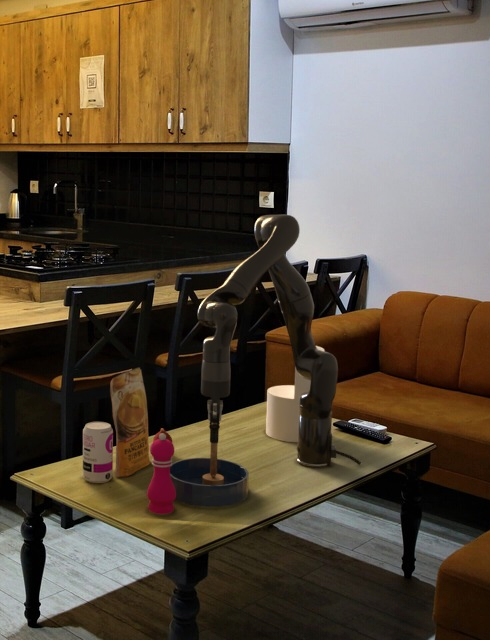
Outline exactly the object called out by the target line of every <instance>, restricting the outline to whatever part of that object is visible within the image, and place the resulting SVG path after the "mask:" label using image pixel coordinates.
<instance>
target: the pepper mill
mask: <svg viewBox="0 0 490 640" xmlns="http://www.w3.org/2000/svg"><path fill="white" fill-rule="evenodd" d="M172 442H173V441H172ZM172 442H171V441H169V440H167V439H166V435H165V434H164V433H161V434H160V435H159V439H157V440H155V441H154V442H153V441H152V443H151V445H150V446H149V453H150V455H151V456H152V458H151V465H152V466H153V474H152V478H151V480H150V483H149V485H148V486H147V490H146V497H147V499H148V501H149V503H148V511H149V512H151V513H153V514H157V515H168V514H171V513H174V510H175V504H174V501H175V500H176V499H175V498H176V490H175V487H174V485H173V482H172V480H171V477H170V466H171V465H172V463H173V459H172V457H173V456H174V454H175V445H174V443H172Z"/></svg>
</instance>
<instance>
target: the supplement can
mask: <svg viewBox="0 0 490 640" xmlns="http://www.w3.org/2000/svg"><path fill="white" fill-rule="evenodd" d="M113 463H114V430H113V428H112V425H111V424H110V423H108V422H104V421H91V422H88V423H86V424H85V426H84V428H83V429H82V478H83V479H84V480H85V481H86V482H88V483H92V484H103V483H108V482H110V480H111V479H112V478H113V472H114V471H113V470H114V469H113V468H114V466H113Z"/></svg>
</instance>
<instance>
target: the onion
mask: <svg viewBox="0 0 490 640" xmlns="http://www.w3.org/2000/svg"><path fill="white" fill-rule="evenodd" d="M161 433H164V434H165V435H166V439H167V440H169V441H171V442H172V444H174V443H173V437H172V436H171V435H170V433H168V432H167V431H166V430H165V428H160V431H158V432H157V433H156V434H155V435H154V436H153V439H152V443H153V442H154V441H155V440H157V439H159V435H160V434H161Z"/></svg>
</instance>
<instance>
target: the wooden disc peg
mask: <svg viewBox="0 0 490 640" xmlns="http://www.w3.org/2000/svg"><path fill="white" fill-rule="evenodd" d="M212 424H217V423H212ZM218 443H219V442H218ZM218 443H210V452H209V453H210V455H209V458H210V474H205V475H203V482H202V485H224V477H223V476H222V475H220V474H217V459H218Z"/></svg>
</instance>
